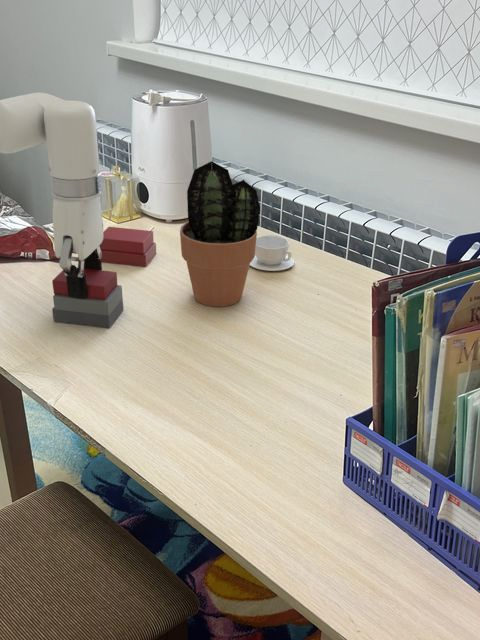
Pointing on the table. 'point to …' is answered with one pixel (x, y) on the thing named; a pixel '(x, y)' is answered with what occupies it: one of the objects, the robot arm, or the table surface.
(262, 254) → the teacup
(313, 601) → the table surface
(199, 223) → the potted plant
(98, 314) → the grey book stack
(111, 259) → the burgundy book stack
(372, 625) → the table surface
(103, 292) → the burgundy book
